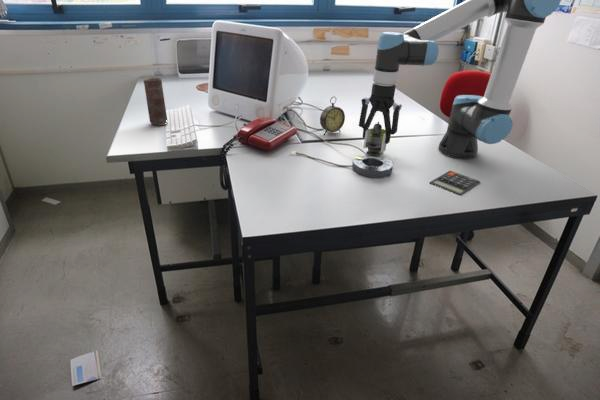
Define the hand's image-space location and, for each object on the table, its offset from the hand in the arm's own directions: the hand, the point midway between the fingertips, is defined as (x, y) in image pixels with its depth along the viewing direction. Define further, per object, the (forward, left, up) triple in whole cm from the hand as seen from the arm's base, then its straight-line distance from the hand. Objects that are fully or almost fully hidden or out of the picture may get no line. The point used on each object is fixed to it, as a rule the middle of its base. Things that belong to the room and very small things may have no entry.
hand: (374, 149), depth 145 cm
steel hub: (0, 0, -8) cm, 8 cm away
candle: (+96, +13, -8) cm, 97 cm away
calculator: (-28, -8, -9) cm, 31 cm away
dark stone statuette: (0, 0, -2) cm, 2 cm away
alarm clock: (+30, -25, -8) cm, 40 cm away
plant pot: (+5, -16, -8) cm, 19 cm away
